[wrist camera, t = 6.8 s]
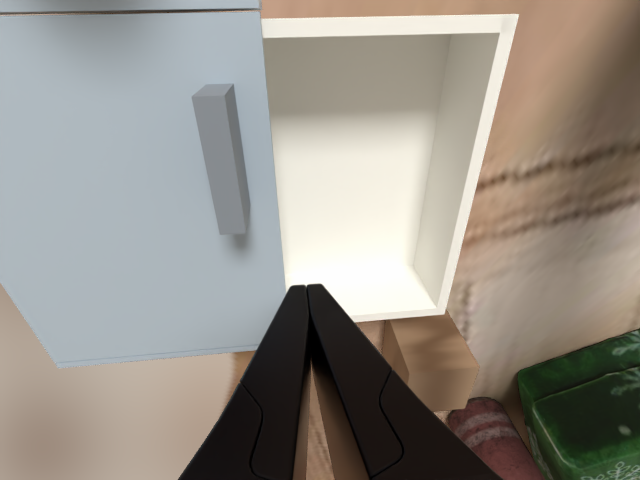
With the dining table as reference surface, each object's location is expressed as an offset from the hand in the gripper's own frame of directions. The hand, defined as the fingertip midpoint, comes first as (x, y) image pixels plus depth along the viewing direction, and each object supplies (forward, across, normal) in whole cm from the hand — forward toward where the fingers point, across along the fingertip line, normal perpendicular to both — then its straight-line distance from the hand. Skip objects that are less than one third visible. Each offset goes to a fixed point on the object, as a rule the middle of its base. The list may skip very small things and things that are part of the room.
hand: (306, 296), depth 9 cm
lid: (+9, +8, +2) cm, 12 cm away
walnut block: (+13, -10, +16) cm, 23 cm away
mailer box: (+13, -2, +2) cm, 13 cm away
